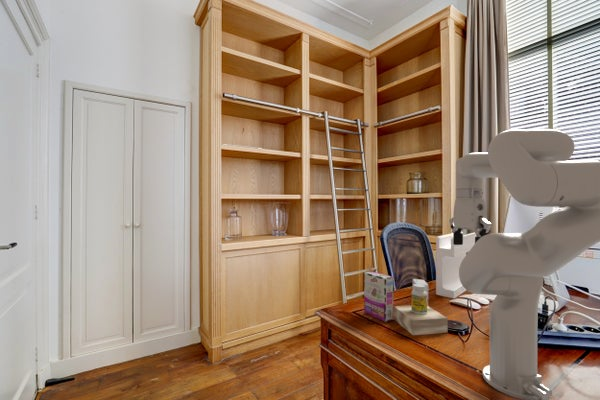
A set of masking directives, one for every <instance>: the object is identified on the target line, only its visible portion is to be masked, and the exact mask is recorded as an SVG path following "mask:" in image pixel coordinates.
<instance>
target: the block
mask: <svg viewBox="0 0 600 400" xmlns="http://www.w3.org/2000/svg"><path fill="white" fill-rule="evenodd" d="M461 233H463V244H462V245H454V244H453V233H452V232H451V233H447V234H442V235H438V236H436V237H435V238H436V239H435V241H436V242H435V248H436V249H435V253H436V254H435V257H436V258H435V294H436V295H438V296H441V297H445V298H451V299H455V298H457V297H459V296H460V295H462V294H463V293H464V292H467V290H466V289H465V288H464V287H463V286H462V284H461V282H460V279H459V268H460V264H461V262H462V260H463V259H464V257H465V256H466V255H467V253H468V252H469V251H470V249H471V248H472V247H473V246H474V244H475V237H477V236H476V234H475V232H471V233H467V234H464V232H463V231H462V232H461Z"/></svg>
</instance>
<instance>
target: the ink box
mask: <svg viewBox="0 0 600 400" xmlns="http://www.w3.org/2000/svg"><path fill="white" fill-rule="evenodd" d="M414 284H422V285H425V290H424V291H426V292H427V306H429V284H428V283H427V281H425V280H424V279H417V278H412V286H413V285H414ZM413 290H414V288H413V287H412V290H411V292H412V291H413Z"/></svg>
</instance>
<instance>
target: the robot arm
mask: <svg viewBox="0 0 600 400" xmlns="http://www.w3.org/2000/svg"><path fill="white" fill-rule="evenodd" d="M574 151H575V143H574V139H573V138H572V137H571V136H570V135H569V134H568V133H566V132H564V131H561V130H558V129H552V128H537V129H534V128H533V129H532V128H530V129H528V128H527V129H508V130H504V131H502V132H499V133H498V134H497V135H495V136H494V137H493V138H492V140H491V141H490V143H489V145H488V148H487V152H471V153H467V154H465V155H463V157H459V158H458V159H456V161H455V200H454V206H453V216H452V217H451V218H450V219H449V220H448V221H449V222H448V223H449V224H450V228H451V230H452V231H451V233H453V244H454V245H462V244H463V235H464V232H463V230H468V231H473V233H475V234H476V236H477V237H475V244H474V246H473V247H472V248H471V249H470V251H469V252H466V256H465V257H464V259H463V260H462V262H461V264H460V268H459V279H460V282H461V284H462V286H463V287H464V288H465V289H466V292H467V291H468V292H470V294H471V293H472V294H473V295H474V294H475V295H488V296H495V297H494V299H493V300H492V302H491V305H490V309H489V364H488V365H486V366H484V367H483V368H482V377H483V379H484V380H485V382H486V383H488V385H490V387H492V388H493V389H495V390H497V391H499V392H501V393H503V394H505V395H507V396H510V397H513V398H517V399H520V400H550V396H552V395H553V390H551V389H550V388H549V387H547V386H545V385H544V384H543V379H542V378H543V376H542V375H540V374H539V373H538V324H539V323H538V320H539V319H538V314H539V312H538V311H539V303H540V298H541V297H540V296H541V294H542V291H543V290H542V289H543V285H544V277H546V276H547V277H549V276H550V275H552V274H554V273H556V272H557V271H558V270H560V269H561V268H563V267H565V266H566V265H567V264H570V263H571V262H572V261H573V260H575V259H576V258H577V257H579V256H581V255H582V254H583V253H584V252H585V251H587V250H588V249H590V248H591V247H593V246H594V245H596V244H598V243H599V242H600V160H591V159H590V160H582V159H580V160H579V159H578V160H576V159H575V160H569V159H570V158H572V156H573V153H574ZM483 178H484V179H485V178H487V179H488V178H494V179H495V178H496V179H497V178H498V179H499V180H500V182H501V183H502V184H503V186H504V187H505V189H506V190H507V191H508V193H509V194H510V195H511V197H512V198H513V199H514V200H515V201H516V202H518V203H519V204H521V205H523V206H528V207H535V208H537V207H538V208H539V207H541V208H543V207H545V208H546V207H547V208H548V207H549V208H552V207H554V208H557V207H558V208H561V209H558V210H557V211H554V212H552V213H549V214H547V215H546V216H544V217H542V218H541V219H540V220H539V221H538V222H537V223H536V224H535V225H534V226H533V227H532V228H530V229H529V230H527V231H524V232H494V233H493V232H492V233H490V232H491V228H492V226H493V224H492V223H491V222H490V221H488V214H487V207H486V206H487V205H486V203H485V199H484V198H483V194H484V191H483ZM461 232H463V233H461Z"/></svg>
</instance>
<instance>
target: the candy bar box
mask: <svg viewBox="0 0 600 400" xmlns="http://www.w3.org/2000/svg"><path fill="white" fill-rule="evenodd" d="M363 275H364V277H363V278H364V286H363V287H364V288H363V289H364V290H363V291H364V295H363V296H364V301H363V303H364V304H363V308H364V311H363V312H364V314H366V315H368V316H370V317H373V318H375V319H378V320H380V321H382V322H385V323H386V322H389V321H392V320H394V276H392V275H391V276H390V275H387V274H383V273H380V272H376V271H373V270H372V271H367V272H364V274H363Z"/></svg>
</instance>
